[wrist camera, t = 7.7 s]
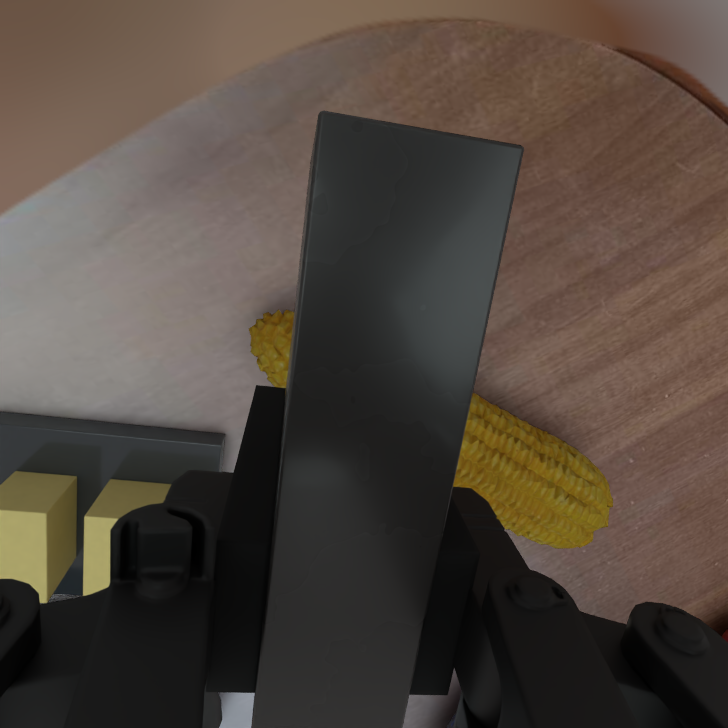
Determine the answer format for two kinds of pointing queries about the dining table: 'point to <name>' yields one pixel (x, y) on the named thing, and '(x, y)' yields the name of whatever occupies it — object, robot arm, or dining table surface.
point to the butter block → (101, 519)
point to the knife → (375, 410)
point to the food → (495, 459)
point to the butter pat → (38, 529)
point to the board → (101, 460)
